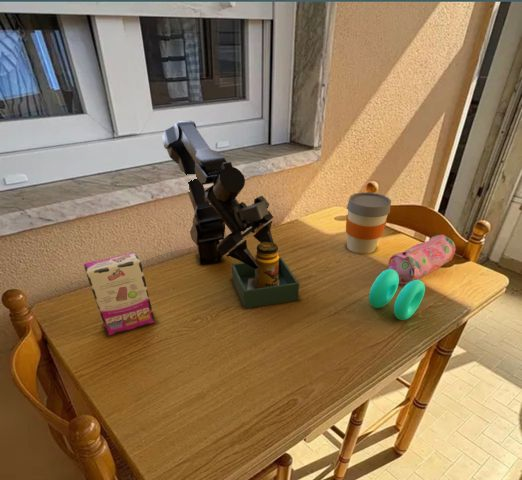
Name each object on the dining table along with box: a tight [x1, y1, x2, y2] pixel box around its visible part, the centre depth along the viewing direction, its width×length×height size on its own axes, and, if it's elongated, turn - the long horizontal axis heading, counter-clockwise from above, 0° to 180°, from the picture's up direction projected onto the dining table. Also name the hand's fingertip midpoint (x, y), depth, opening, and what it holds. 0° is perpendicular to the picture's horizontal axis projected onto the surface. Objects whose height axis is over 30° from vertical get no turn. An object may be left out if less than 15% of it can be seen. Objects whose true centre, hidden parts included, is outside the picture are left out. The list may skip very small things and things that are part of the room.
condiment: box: [247, 242, 280, 290], centre depth 97 cm, size 7×8×12 cm
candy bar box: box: [83, 252, 156, 336], centre depth 85 cm, size 11×5×16 cm, turn 117°
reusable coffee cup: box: [345, 192, 392, 255], centre depth 116 cm, size 13×13×15 cm
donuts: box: [368, 268, 426, 321], centre depth 92 cm, size 10×10×10 cm
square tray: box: [230, 257, 300, 309], centre depth 100 cm, size 14×14×5 cm
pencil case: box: [387, 234, 456, 285], centre depth 106 cm, size 21×9×9 cm, turn 127°
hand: (266, 260), depth 96 cm, fingers open, 9 cm apart
